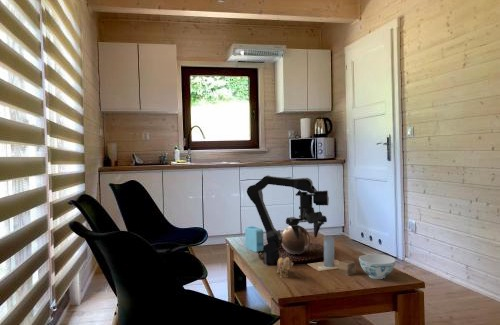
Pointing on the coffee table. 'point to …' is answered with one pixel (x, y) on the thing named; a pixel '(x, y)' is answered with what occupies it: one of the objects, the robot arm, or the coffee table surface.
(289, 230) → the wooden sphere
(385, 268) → the chinaware
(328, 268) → the envelope
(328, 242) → the grey cylinder
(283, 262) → the lion figurine
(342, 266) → the walnut block
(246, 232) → the data package
